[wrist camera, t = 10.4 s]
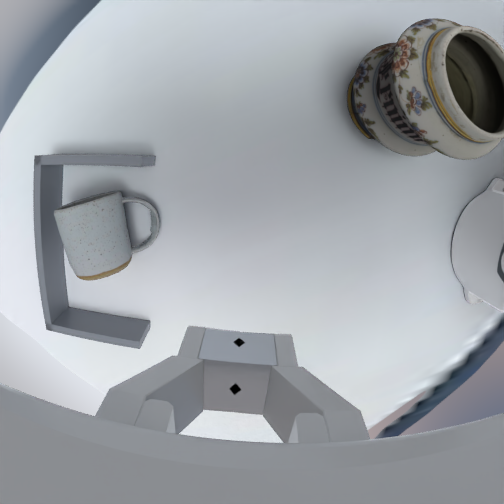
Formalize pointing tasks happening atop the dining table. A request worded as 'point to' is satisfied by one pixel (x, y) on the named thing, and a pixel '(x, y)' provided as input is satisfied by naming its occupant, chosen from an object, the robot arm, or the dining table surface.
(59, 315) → the box
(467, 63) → the apothecary jar
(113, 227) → the ceramic mug
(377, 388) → the dining table surface
